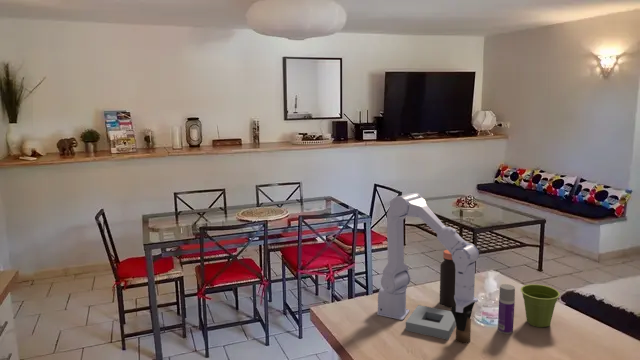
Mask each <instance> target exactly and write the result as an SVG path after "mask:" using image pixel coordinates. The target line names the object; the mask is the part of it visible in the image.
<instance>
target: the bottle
mask: <svg viewBox="0 0 640 360" xmlns="http://www.w3.org/2000/svg"><path fill="white" fill-rule="evenodd" d="M442 253H443V255H442V257H443V261H442V262H441V263H440V264H439V265H440V267H439V268H440V269H439V270H440V272H439V304H440V305H441V306H443V307H446V308H452V306H453V307H456V303H455V300H454V295H455V271H456V269H455V263H454V262H453V260H452V254H451V253H450V252H449V251H448V250H447V249H445V250H443V252H442Z"/></svg>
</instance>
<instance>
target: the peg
mask: <svg viewBox="0 0 640 360" xmlns="http://www.w3.org/2000/svg"><path fill="white" fill-rule="evenodd" d="M471 328H472V319H471V317H470V318H469V317H468V318H467V323H466V328H465V330H464V331H460V330H457V326H456V327H455V341H456V342H458V343H459V344H469V343H470V342H471V335H472V334H471V330H472V329H471Z"/></svg>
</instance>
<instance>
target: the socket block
mask: <svg viewBox="0 0 640 360" xmlns="http://www.w3.org/2000/svg"><path fill="white" fill-rule="evenodd" d="M455 330H456V322H455V318H454V316H453V314H452V312H451V310H445V309H441V308H435V307H431V306H425V305H421V304H420V305H419V304H418V305H417V306H416V307H415V309H414V310H413V312H412V313H411V314H410V315H409V317H407V320H406V321H405V332H410V333H417V334H419V335H423V336H428V337H429V336H430V337H434V338H439V339H444V340H448V341H449V340H450V338H451V336H452V334H453V332H454V331H455Z"/></svg>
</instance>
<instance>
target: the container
mask: <svg viewBox="0 0 640 360" xmlns="http://www.w3.org/2000/svg"><path fill="white" fill-rule="evenodd" d="M515 299H516V287H515V285H512V284H507V283H505V284H500V286H499V297H498V314H497V315H498V318H497V331H498V332H499V333H501V334H505V335H511V334H513V332H514V319H515V318H514V317H515V305H516V304H515V303H516V302H515Z"/></svg>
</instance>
